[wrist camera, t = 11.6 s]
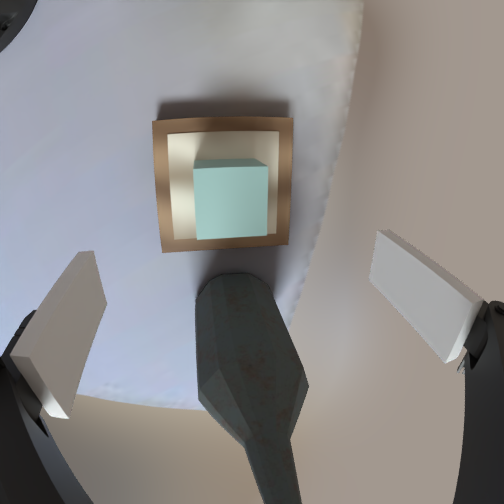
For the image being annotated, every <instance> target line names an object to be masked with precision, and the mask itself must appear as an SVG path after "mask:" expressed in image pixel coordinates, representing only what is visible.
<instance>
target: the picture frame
mask: <svg viewBox="0 0 504 504" xmlns="http://www.w3.org/2000/svg"><path fill="white" fill-rule="evenodd" d="M152 130H153V154H154V172H155V186H156V198H157V209H158V220H159V229H160V238H161V246H162V253H168V252H183V251H198V250H214V249H229V248H245V247H260V246H276V245H288V240H289V222H290V201H291V177H292V146H293V118H285V117H248V116H236V117H199V118H182V119H169V120H158V121H152ZM248 158H255V159H257V160H258V161H260V162H262V163H263V164H265V165H267V166H268V205H267V236H250V237H234V238H217V239H202V240H197V234H196V218H195V201H194V180H193V166H194V161H195V160H214V159H248Z"/></svg>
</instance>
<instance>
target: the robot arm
mask: <svg viewBox="0 0 504 504" xmlns="http://www.w3.org/2000/svg"><path fill="white" fill-rule="evenodd" d="M36 1H37V0H0V52H1V51H2V50H3V49H5V48H6V47H7V46H8V45H9V43H10V42H11V41H12V40H13V39H14V38H15V36H16V35H17V34H18V33H19V31H20V30H21V29H22V27H23V26H24V24H25V23H26V21H27V19H28V18H29V16H30V14H31V12H32V10H33V8H34V6H35V4H36ZM369 281H370V282H371V283H372V284H373V285H374V286H375V287H376V288H377V289H378V290H379V291H380V292H381V293H382V294H383V295H384V296H385V297H386V298H387V299H388V301H389V302H390V303H391V304H392V305H393V306H394V307H395V308H396V309H397V310H398V311H399V312H400V313H401V314H402V316H403V317H404V318H405V319H406V320H407V321H408V322H409V323H410V324H411V325H412V326H413V328H414V329H415V330H416V331H417V332H418V333H419V334H420V336H421V337H422V338H423V339H424V340H425V341H426V342H427V343H428V345H429V346H430V347H431V348H432V349H433V350H434V351H435V353H436V354H437V355H438V356H439V357H440V358H441V360H442V361H443V362H444V363H447V362H449V361H452V360H454V359H456V358H457V357H458V355H459V354H460V351H461V349H462V348H463V346H464V347H465V348H466V349H467V353H466V355H465V356H464V358H463V360H462V362H461V364H460V366H459V367H458V369H457V373H459V372H460V370H461V368H462V367H465V369H464V371H463V372H462V374H465V418H464V433H463V434H464V435H463V445H462V454H461V462H460V469H459V476H458V481H457V486H456V492H455V497H454V501H453V504H504V303H502V302H499V301H491V302H490V303H489V304H488V303H487V302H486V301H484V299H483V298H482V297H480V296H479V295H478V294H477V293H475V292H474V291H473V290H472V289H470V288H469V287H468V286H467V285H465V284H464V283H463V282H462V281H460V280H459V279H458V278H456V277H455V276H454V275H452V274H451V273H450V272H448V271H447V270H446V269H445V268H443V267H442V266H440V265H439V264H438V263H436V262H435V261H434V260H432V259H431V258H430V257H428V256H427V255H425V254H424V253H423V252H421V251H420V250H418V249H417V248H415V247H414V246H413V245H411V244H410V243H408V242H407V241H405V240H404V239H402V238H401V237H400V236H398V235H397V234H395V233H394V232H392V231H391V230H378V231H377V236H376V242H375V248H374V254H373V259H372V265H371V270H370V275H369ZM106 306H107V301H106V298H105V294H104V291H103V287H102V283H101V280H100V276H99V272H98V268H97V264H96V259H95V255H94V251H83V252H78V253H77V255H76V256H75V257H74V259H73V260H72V261H71V262H70V264H69V265H68V266H67V268H66V269H65V270H64V272H63V273H62V274H61V276H60V277H59V279H58V280H57V281H56V283H55V284H54V286H53V287H52V288H51V290H50V291H49V293H48V294H47V296H46V297H45V299H44V300H43V302H42V303H41V305H40V306H39V308H38V309H37V310H33V311H32V312H31V313H30V314H29V315H28V316H26V317H25V318H24V320H23V321H22V323H21V325H20V326H19V329H17V331H16V332H15V334H14V335H15V336H13V337H12V339H11V341H10V342H9V344H8V346H7V347H6V349H5V351H4V353H3V354H2V356H1V357H0V504H94V503H93V502H92V501H91V499H90V498H89V496H88V495H87V494H86V492H85V491H84V489H83V488H82V486H81V485H80V483H79V482H78V480H77V479H76V477H75V476H74V474H73V473H72V471H71V469H70V468H69V466H68V464H67V463H66V461H65V459H64V457H63V456H62V454H61V452H60V451H59V449H58V447H57V445H56V443H55V441H54V439H53V437H52V435H51V433H50V432H49V429H48V428H47V425H46V423H45V421H44V420H43V418H42V417H41V416H40V411H41V408H42V406H43V407H44V408H45V410H46V411H47V412H48V414H49V415H50V416H52V417H58V418H66V419H69V418H70V414H71V410H72V406H73V403H74V399H75V395H76V392H77V389H78V385H79V382H80V379H81V376H82V372H83V369H84V366H85V363H86V360H87V357H88V354H89V351H90V348H91V346H92V343H93V340H94V337H95V334H96V332H97V329H98V326H99V324H100V321H101V318H102V316H103V313H104V311H105V308H106Z"/></svg>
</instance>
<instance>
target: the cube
mask: <svg viewBox="0 0 504 504" xmlns="http://www.w3.org/2000/svg"><path fill="white" fill-rule="evenodd" d="M193 180H194V201H195V218H196V234H197V240H202V239H217V238H234V237H250V236H267V205H268V166H267V165H265V164H263V163H262V162H260V161H258V160H257V159H255V158H248V159H214V160H195V161H194V166H193Z"/></svg>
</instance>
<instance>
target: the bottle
mask: <svg viewBox="0 0 504 504" xmlns="http://www.w3.org/2000/svg"><path fill="white" fill-rule="evenodd" d="M195 332H196V361H197V382H198V399H199V401H200V402H201V404H202V405H203V406H204V407H205V409H206V410H207V411H208V412H209V414H210V415H211V416H212V417H213V418H214V419H215V420H216V421H217V422H218V423H219V424H220V425H221V426H222V427H223V428H224V429H225V430H226V431H227V432H228V433H229V434H230V435H231V436H232V437H233V438H234V439H235V440H236V441H237V442H239V443H240V444H241V445H242V446H243V447H244V448H245V451H246V454H247V457H248V460H249V463H250V466H251V469H252V472H253V474H254V477H255V480H256V483H257V486H258V489H259V491H260V494H261V496H262V499H263V502H264V504H302V502H301V496H300V491H299V485H298V480H297V474H296V469H295V463H294V458H293V453H292V448H291V442H290V438H291V435H292V433H293V430H294V427H295V425H296V422H297V419H298V417H299V414H300V411H301V408H302V405H303V403H304V400H305V397H306V394H307V391H308V388H309V385H308V381H307V378H306V375H305V371H304V368H303V365H302V363H301V361H300V358H299V356H298V354H297V351H296V349H295V347H294V344H293V342H292V340H291V337H290V335H289V333H288V330H287V328H286V326H285V323H284V321H283V319H282V316H281V314H280V312H279V309H278V307H277V305H276V302H275V300H274V298H273V295H272V293H271V291H270V288H269V286H268V285H267V284H266V283H264V282H262V281H261V280H259V279H257V278H255V277H254V276H252V275H250V274H248V273H241V274H226V275H220V276H218V277H216V278H214V279H212V280H210V281H209V282H208V284H207V285H206V287H205V288H204V289H203V291H202V292H201V293H200V295H199V296H198V298H197V299H196V304H195Z"/></svg>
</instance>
